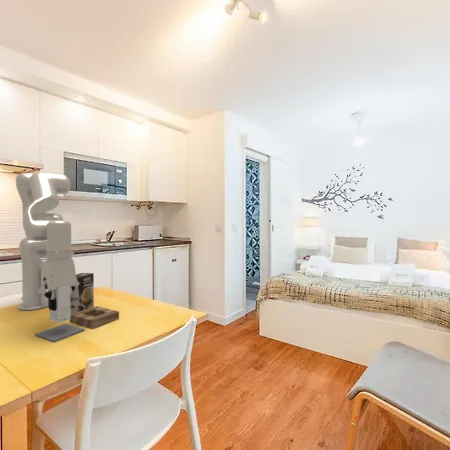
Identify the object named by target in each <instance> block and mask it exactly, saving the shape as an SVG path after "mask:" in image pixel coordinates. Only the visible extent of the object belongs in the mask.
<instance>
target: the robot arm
mask: <svg viewBox="0 0 450 450" xmlns="http://www.w3.org/2000/svg"><path fill="white" fill-rule="evenodd" d="M15 184H16V186H15V187H16V190H17V193H18V196H19V198H20V199H21V203H22V228H23V231H24V234H25V237H24V238H22V239H21V240H20V242H19V246H18V247H19V253H20V259H21V271H22V273H21V276H22V277H21V279H22V280H21V281H22V283H21V286H22V296H21V298H20V300H22V303H20V304H19V305H17V306H18V310H21V311H35V310H36V311H37V310H40V309H45V308H47V307H48V309H49V311H50V310H53V311H56V309H57V307H56V299H55V294H56V290H57V288H59V287H64V286H70V303H71V295H72V292H73V291H74V290H75V288H76V287H77V286H78V285H79V282H78V281H77V279H76V266H75V262H74V261H75V260H74V259H73V256H74V255H75V252H74V250H72V224H71V222H70V221H69V220H64V218H63V216H62V214H60V213H56V212H50V211H52V210H54V209H55V208H57V207H58V206H59V204H60V199H59V196H58V195H66V194H68V193H69V192H70V190H71V181H70V178H69V177H68V176H67V175H66V174H63V173H55V172H46V171H45V172H44V171H39V172H22V173H19V174H17V175H16V178H15ZM41 258H46V260H44V261H43V260H42V259H41Z"/></svg>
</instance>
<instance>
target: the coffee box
mask: <svg viewBox="0 0 450 450" xmlns="http://www.w3.org/2000/svg"><path fill="white" fill-rule="evenodd" d="M94 277H95V276H94V273H93V272H92V273H91V272H85V273H84V272H81V273H77V274H76V279H77V281H78V282H79V285H78V286H77V287H76V288H75V290H74V291H73V292H72V295H71V303H70V310H71V314H73V313H77V312H80V311H83V310H86V309H89V308H93V307H95V302H94V301H95V299H94V298H95V297H94V295H95V294H94V292H95V291H94V287H95V286H94V281H95V278H94Z"/></svg>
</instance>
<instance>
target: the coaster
mask: <svg viewBox="0 0 450 450" xmlns="http://www.w3.org/2000/svg"><path fill="white" fill-rule="evenodd" d="M83 332H85V328H83V327H82V328H81V327H80V326H75V325H73V324H70V323H69V324H68V323H63V324H60V325H57V326H54V327H51V328H49V329H46V330H42V331H39V332H37V333H34V336H35V337H37V338H40V339H43V340H46V341H49V342H52V343H56V342H60V341H62V340H64V339H67V338H70V337H72V336H74V335H77V334H80V333H83Z"/></svg>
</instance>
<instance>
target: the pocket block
mask: <svg viewBox="0 0 450 450" xmlns="http://www.w3.org/2000/svg"><path fill="white" fill-rule="evenodd" d="M117 320H120V311H119V310H115V309H110V308H107V307H106V308H105V307H102V306H94V307H93V308H89V309H86V310H83V311H80V312H77V313H73V314H71V319H70V320H69V324H73V325H77V326H82V327H85V328H88V329H90V330H91V329H92V330H95V329H97V328H99V327H101V326H104V325H106V324H109V323H112V322H114V321H117Z"/></svg>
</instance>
